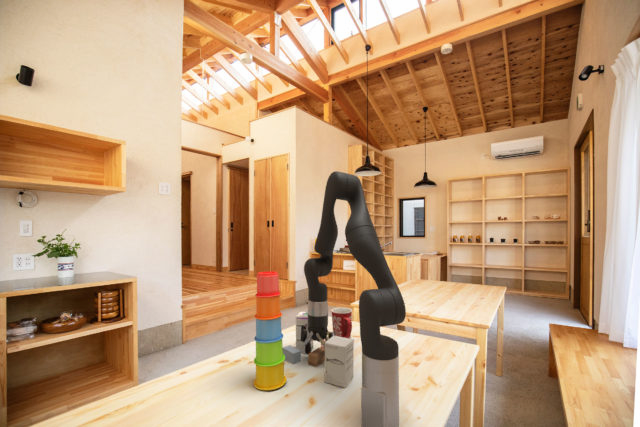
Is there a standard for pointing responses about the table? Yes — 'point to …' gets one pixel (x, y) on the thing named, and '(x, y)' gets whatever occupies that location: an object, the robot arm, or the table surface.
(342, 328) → the mug
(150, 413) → the table surface
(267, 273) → the stacking cups
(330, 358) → the supplement box
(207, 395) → the table surface
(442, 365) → the table surface
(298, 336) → the syrup box
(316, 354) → the walnut brick
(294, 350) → the slate-blue brick
